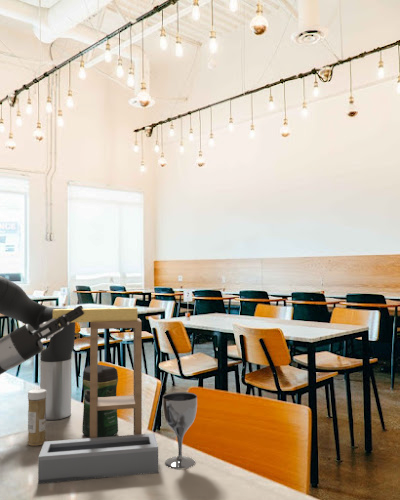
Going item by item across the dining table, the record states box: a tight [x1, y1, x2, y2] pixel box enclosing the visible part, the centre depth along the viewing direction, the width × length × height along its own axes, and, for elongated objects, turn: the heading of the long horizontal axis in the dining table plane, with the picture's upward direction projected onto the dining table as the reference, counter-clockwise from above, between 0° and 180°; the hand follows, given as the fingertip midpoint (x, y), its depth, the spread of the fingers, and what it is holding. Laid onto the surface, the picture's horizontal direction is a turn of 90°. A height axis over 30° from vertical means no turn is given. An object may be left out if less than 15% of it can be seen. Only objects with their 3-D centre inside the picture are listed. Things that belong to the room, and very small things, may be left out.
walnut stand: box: [89, 317, 143, 438], centre depth 110 cm, size 8×12×32 cm, turn 101°
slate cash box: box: [37, 432, 159, 485], centre depth 100 cm, size 9×25×6 cm, turn 101°
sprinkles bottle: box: [27, 388, 47, 447], centre depth 117 cm, size 5×5×14 cm
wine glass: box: [162, 391, 198, 470], centre depth 104 cm, size 8×8×15 cm
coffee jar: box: [81, 364, 119, 438], centre depth 123 cm, size 10×8×19 cm
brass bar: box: [53, 307, 138, 323], centre depth 110 cm, size 3×20×3 cm, turn 100°
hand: (82, 309), depth 110 cm, fingers open, 3 cm apart
